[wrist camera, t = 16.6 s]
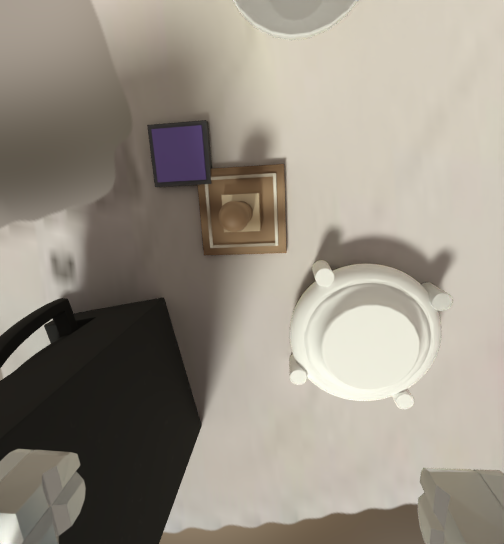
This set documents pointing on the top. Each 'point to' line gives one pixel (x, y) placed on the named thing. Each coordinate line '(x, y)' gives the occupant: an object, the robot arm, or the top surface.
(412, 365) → the round stand with pegs
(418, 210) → the top surface
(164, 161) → the ink pad
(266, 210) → the board
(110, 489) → the coffee maker
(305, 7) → the bowl
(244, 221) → the stamp
